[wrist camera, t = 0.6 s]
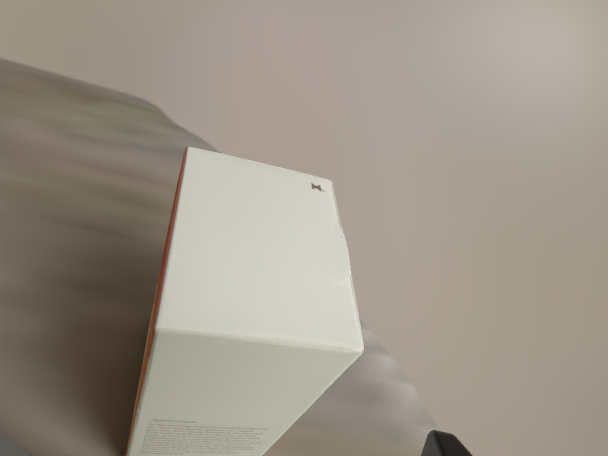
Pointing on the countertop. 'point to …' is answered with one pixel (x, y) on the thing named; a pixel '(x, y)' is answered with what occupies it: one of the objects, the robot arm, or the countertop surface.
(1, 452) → the case
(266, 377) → the small box
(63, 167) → the countertop surface
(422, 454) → the robot arm
